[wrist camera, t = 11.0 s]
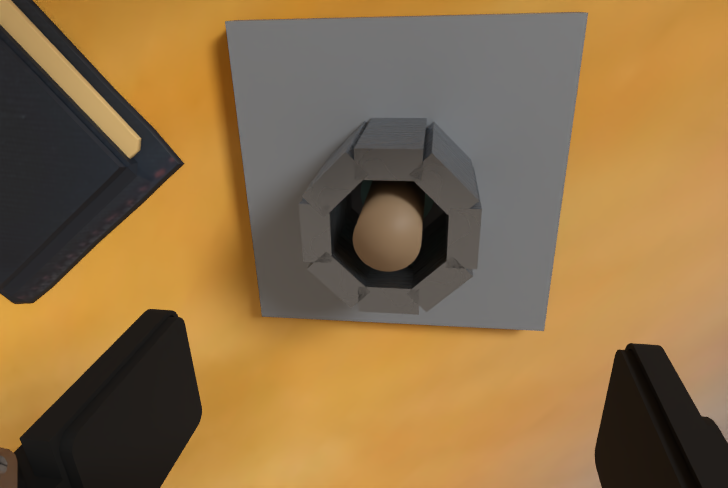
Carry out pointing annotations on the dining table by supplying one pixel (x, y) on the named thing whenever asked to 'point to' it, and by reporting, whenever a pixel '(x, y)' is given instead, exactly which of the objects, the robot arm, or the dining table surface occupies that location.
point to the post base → (438, 104)
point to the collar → (439, 239)
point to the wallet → (63, 154)
